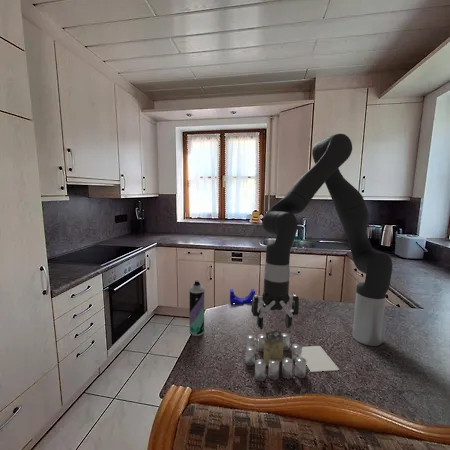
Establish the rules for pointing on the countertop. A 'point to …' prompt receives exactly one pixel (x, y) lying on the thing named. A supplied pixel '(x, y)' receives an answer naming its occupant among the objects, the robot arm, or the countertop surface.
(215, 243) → the countertop surface
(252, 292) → the cable clip
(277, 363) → the spacers
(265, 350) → the cream metal oval canister
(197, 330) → the spray can
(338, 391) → the countertop surface
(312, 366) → the tile
